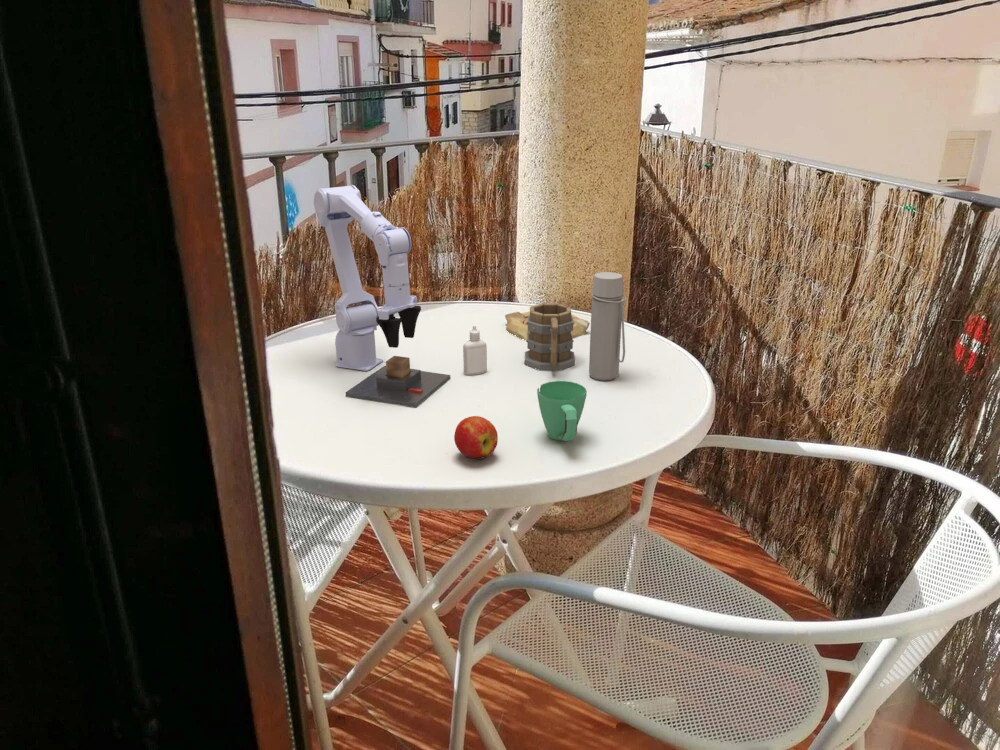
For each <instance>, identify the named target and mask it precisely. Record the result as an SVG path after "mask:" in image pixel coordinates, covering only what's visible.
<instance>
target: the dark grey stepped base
mask: <svg viewBox="0 0 1000 750" xmlns="http://www.w3.org/2000/svg"><path fill="white" fill-rule="evenodd" d="M450 380H451V374H446V373H439V372H438V373H437V372H433V371H432V372H431V371H425V370H421V369H416V368H410V373H409V374H408V375H407V376H405V377H404V378H397V377H390V376H387V370H386V365H383V366H382V367H380V368H379V369H377V370H376V371H374V372H373V373H371V374H370V375H368V376H367V377H366V378H365V379H363V380H361V381H360V382H358V383H357V384H356V385H354V386H353V387H351V388H350V389H348V390H347V391H345V397H347V398H353V399H359V400H364V401H365V400H366V401H372V402H379V403H384V404H391V405H397V406H404V407H407V408H408V407H411V408H413V409H414V408H418V407H419V406H420V405H422V404H423V403H424V402H425V401H426V400H427V399H428V398H429V397H431V396H433V394H434V393H436V392H437V391H438V390H439V389H440V388H441V387H442V386H444V385H445V384H447V382H448V381H450Z"/></svg>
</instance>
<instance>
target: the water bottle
mask: <svg viewBox="0 0 1000 750" xmlns="http://www.w3.org/2000/svg"><path fill="white" fill-rule="evenodd" d="M591 287H592V288H591V294H590V295H591V297H592V298H591V307H590V308H591V309H590V337H589V358H588V359H589V360H588V361H589V363H588V364H589V365H588V373H589V376H590V377H591V378H593V379H594V380H597V381H603V382H604V381H612V380H616V378H617V377H618V375H620V374H619V373H620V371H619V370H620V363H623V362H624V360H625V356H626V343H625V342H626V338H625V322H624V321H625V320H624V318H625V317H624V316H625V315H624V305H625V303H626V301H627V297H626V295H625V294H624V277H623V275H622V273H618V272H614V271H613V272H611V271H605V272H604V271H602V272H597V273H595V274H594V275H593V281H592V286H591ZM621 339H622V357H621V359H620V355H621Z"/></svg>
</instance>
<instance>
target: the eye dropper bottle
mask: <svg viewBox="0 0 1000 750" xmlns="http://www.w3.org/2000/svg"><path fill="white" fill-rule="evenodd" d="M480 338H481V335H480V330H478V329H477V325H472V329H471V330H470V331H469V340H468V341H467V340H466V341H465V342H464V343H463V346H462V349H463V350H462V351H463V352H462V356H463V359H462V360H463V373H464V374H466V375H467V376H477V374H478V375H481V374H485V373H486V372H487V371H488V357H487V356H488V355H487V352H488V350H487V348H488V347H487V343H486V342H485V340H483V339H480Z"/></svg>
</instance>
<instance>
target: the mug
mask: <svg viewBox="0 0 1000 750" xmlns="http://www.w3.org/2000/svg"><path fill="white" fill-rule="evenodd" d="M587 392H588V391H587V388H586V387H585V386H584V385H582V384H580V383H577V382H575V381H574V382H573V381H568V380H553V381H548V382H544V383H542V384H540V387H537V388H536V393H537V395H536V396H537V401H538V405H539V406H538V407H539V410H540V415H541V418H542V421H543V424H544V427H545V429H546V432H547V435H548V437H549V438H550V439H552V440H555V441H561V442H562V441H565V442H567V441H568V442H569V441H571V440H573V439H574V438H575V435H576V433H577V432H578V425H579V423H580V421H581V417H582V414H583V410H584V408H585V404H586V400H587V399H586V398H587Z"/></svg>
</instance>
